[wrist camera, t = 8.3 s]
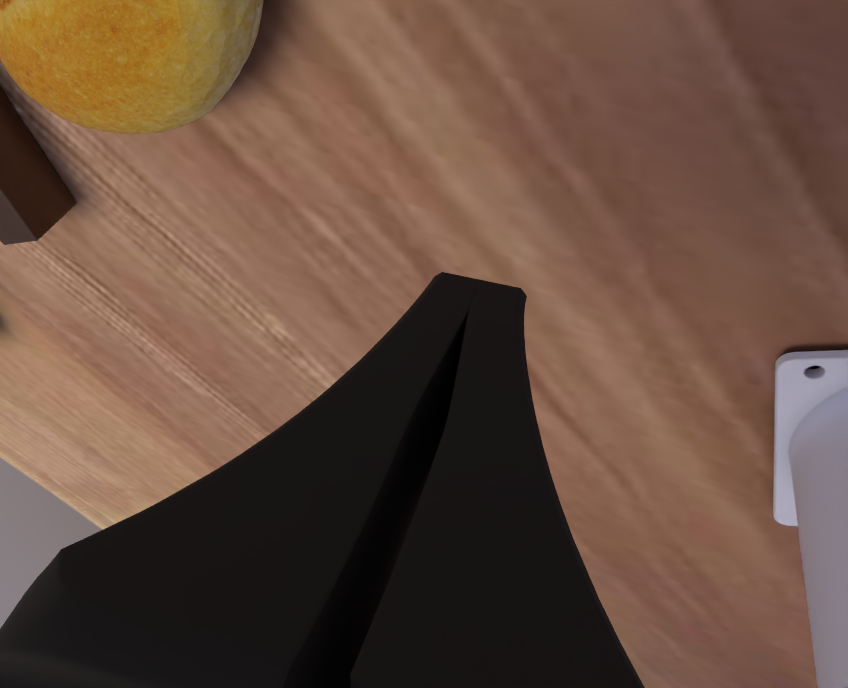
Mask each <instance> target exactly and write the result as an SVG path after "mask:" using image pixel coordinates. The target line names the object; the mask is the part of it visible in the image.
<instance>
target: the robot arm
mask: <svg viewBox="0 0 848 688" xmlns="http://www.w3.org/2000/svg"><path fill="white" fill-rule="evenodd" d="M526 297H527V296H526V294H525V293H524V292H523V290H522V289H521V288H517V287H512V286H507V285H503V284H498V283H493V282H488V281H483V280H478V279H474V278H469V277H464V276H459V275H454V274H449V273H444V272H442V273H440V274H438V275H436V276H435V277H434V278H433V280H432V281H431V282H430V284H429V285H428V286H427V288H426V289H425V290H424V291H423V293H422V294H421V295H420V296H419V298H418V299H417V300H416V301H415V303H414V304H413V305H412V306H411V307H410V308H409V310H408V311H407V312H406V313H405V314H404V315H403V316H402V317H401V318H400V320H399V321H398V322H397V323H396V324H395V325H394V326H393V327H392V328H391V329H390V330H389V331H388V332H387V333H386V334H385V335H384V337H383V338H382V339H381V340H380V341H379V342H378V343H377V344H376V345H375V346H374V347H373V348H372V349H371V350H370V351H369V352H368V353H367V354H366V355H365V356H364V357H363V358H362V359H361V360H360V361H359V362H357V363H356V364H355V365H354V366H353V367H352V368H351V369H350V370H349V371H347V372H346V373H345V374H344V375H343V376H342V377H341V378H340V379H339V380H338V381H336V382H335V383H334V384H333V385H332V386H331V387H330V388H329V389H328V390H326V391H325V392H324V393H323V394H322V395H320V396H319V397H318V398H317V399H316V400H314V401H313V402H312V403H311V404H309V405H308V406H307V407H306V408H304V409H303V410H302V411H301V412H299V413H298V414H297V415H295V416H294V417H293V418H291V419H290V420H289V421H287V422H286V423H285V424H283V425H282V426H281V427H279V428H278V429H277V430H275V431H274V432H273V433H271V434H270V435H268V436H267V437H265V438H264V439H262V440H261V441H259V442H258V443H256V444H255V445H253V446H252V447H251V448H249V449H248V450H246V451H245V452H243V453H242V454H240V455H239V456H237V457H236V458H234V459H233V460H231V461H229V462H228V463H226V464H225V465H223V466H221V467H220V468H218V469H217V470H215V471H213V472H211V473H210V474H208V475H206V476H204V477H203V478H201V479H199V480H197V481H196V482H194V483H192V484H190V485H189V486H187V487H185V488H183V489H182V490H180V491H178V492H176V493H174V494H173V495H171V496H169V497H167V498H166V499H164V500H162V501H160V502H159V503H157V504H155V505H153V506H151V507H149V508H147V509H145V510H143V511H141V512H139V513H137V514H135V515H133V516H131V517H129V518H127V519H125V520H122V521H120V522H118V523H116V524H114V525H112V526H110V527H108V528H106V529H104V530H101V531H100V532H97V533H95V534H93V535H91V536H89V537H87V538H85V539H83V540H80V541H78V542H76V543H74V544H72V545H69V546H67V547H65V548H63V549H61V550H60V552H59V553H58V554H57V555H56V557H55V558H54V559H53V560H52V562H51V563H50V564H49V565H48V566H47V567H46V569H45V570H44V571H43V572H42V573H41V574H40V575H39V576H38V577H37V579H36V580H35V581H34V582H33V584H32V585H31V586H30V587H29V589H28V590H27V591H26V593H25V594H24V595H23V597H22V599H21V600H20V601H19V603H18V604H17V606H16V607H15V609H14V610H13V611H12V613H11V614H10V616H9V617H8V619H7V620H6V621H5V623H4V624H3V626H2V627H1V629H0V688H645V687H644V686H643V684H642V682H641V680H640V678H639V677H638V675H637V673H636V671H635V669H634V667H633V665H632V664H631V662H630V660H629V658H628V656H627V654H626V652H625V650H624V648H623V647H622V645H621V643H620V641H619V639H618V637H617V635H616V633H615V631H614V629H613V627H612V624H611V622H610V620H609V618H608V616H607V614H606V612H605V610H604V608H603V606H602V604H601V602H600V600H599V598H598V595H597V593H596V591H595V588H594V586H593V584H592V581H591V579H590V577H589V574H588V572H587V570H586V567H585V565H584V563H583V560H582V558H581V556H580V553H579V551H578V549H577V546H576V544H575V542H574V539H573V537H572V534H571V532H570V529H569V526H568V523H567V521H566V518H565V515H564V512H563V510H562V507H561V504H560V501H559V498H558V495H557V492H556V489H555V486H554V483H553V480H552V477H551V473H550V470H549V466H548V463H547V459H546V456H545V452H544V448H543V445H542V440H541V436H540V432H539V428H538V424H537V420H536V415H535V410H534V405H533V400H532V394H531V388H530V382H529V376H528V370H527V362H526V353H525V339H524V310H525V302H526ZM810 366H821V367H819V368H817V369H807V368H808V367H810ZM773 514H774V518H775V520H776V521H777V522H779V523H781V524H783V525H788V526H798V531H799V539H800V548H801V556H802V564H803V572H804V580H805V588H806V596H807V605H808V613H809V621H810V629H811V637H812V646H813V654H814V662H815V670H816V678H817V686H818V688H848V350H834V351H807V352H791V353H786V354H784V355H782V356H780V357H779V358H778V359H777V360H776V364H775V403H774V476H773Z"/></svg>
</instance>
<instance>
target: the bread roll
mask: <svg viewBox="0 0 848 688" xmlns="http://www.w3.org/2000/svg"><path fill="white" fill-rule="evenodd" d="M263 1H264V0H0V60H1V62H2V64H3V65H4V67H5V68H6V70H7V72H8V73H9V74H10V76H11V77H12V78H13V80H14V81H15V82H16V83H17V84H18V86H19V87H20V88H21V89H22V90H23V91H24V92H25V93H26V94H27V95H28V96H29V97H31V98H32V99H33V100H35V101H36V102H38V103H39V104H41V105H42V106H43V107H45V108H46V109H48V110H50V111H51V112H53V113H54V114H56V115H57V116H59V117H61V118H63V119H66V120H68V121H70V122H73V123H75V124H78V125H80V126H83V127H88V128H92V129H97V130H102V131H108V132H115V133H126V134H140V133H154V132H161V131H166V130H171V129H175V128H178V127H181V126H183V125H186V124H188V123H190V122H192V121H194V120H196V119H198V118H200V117H202V116H203V115H205V114H206V113H208V112H209V111H211V110H212V109H213V108H214V107H215V106H216V105H217V104H218V102H219V101H220V100H221V99H222V98H223V97H224V95H225V93H226V92H227V91H228V90H229V89H230V88H231V86H232V84H233V83H234V81H235V80H236V78H237V77H238V75H239V74H240V72H241V69H242V67H243V65H244V64H245V62H246V61H247V59H248V57H249V55H250V53H251V50H252V48H253V45H254V43H255V40H256V37H257V35H258V30H259V25H260V20H261V14H262V8H263Z"/></svg>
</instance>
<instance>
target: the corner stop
mask: <svg viewBox="0 0 848 688" xmlns="http://www.w3.org/2000/svg"><path fill="white" fill-rule="evenodd" d="M75 205H76V202H75V200H74V199H73V197H72V196H71V194H70V193H69V191H68V190H67V188H66V187H65V185H64V183H63V182H62V180H61V179H60V177H59V176H58V174H57V173H56V171H55V170H54V168H53V167H52V165H51V164H50V162H49V161H48V159H47V158H46V156H45V155H44V153H43V152H42V150H41V149H40V147H39V145H38V144H37V142H36V141H35V139H34V138H33V136H32V135H31V133H30V132H29V130H28V129H27V127H26V126H25V124H24V123H23V121H22V120H21V118H20V117H19V115H18V114H17V112H16V111H15V109H14V107H13V106H12V104H11V103H10V101H9V100H8V98H7V97H6V95H5V94H4V92H3V91H2V89H1V88H0V240H1V242H2V243H3V244H4V245H7V244H15V243H22V242H30V241H37V240H38V239H40V238H41V237H42V236H43V235H44V234H45V233H46V232H47V231H48V230H49V229H50V228H51V227H52V226H53V225H54V224H55V223H57V222H58V221H59V220H60V219H61V218H62V217H63V216H64V215H65V214H66V213H67V212H68V211H69V210H70V209H71V208H72V207H74V206H75Z"/></svg>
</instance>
